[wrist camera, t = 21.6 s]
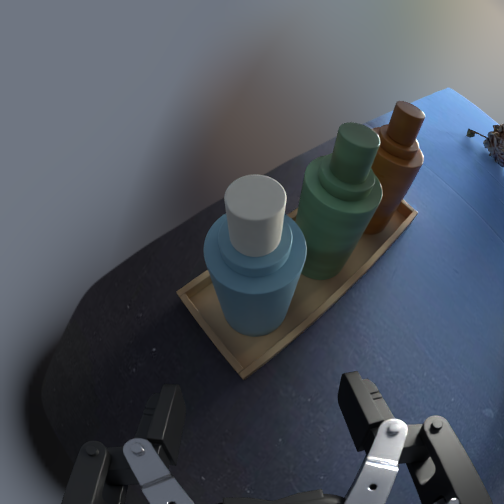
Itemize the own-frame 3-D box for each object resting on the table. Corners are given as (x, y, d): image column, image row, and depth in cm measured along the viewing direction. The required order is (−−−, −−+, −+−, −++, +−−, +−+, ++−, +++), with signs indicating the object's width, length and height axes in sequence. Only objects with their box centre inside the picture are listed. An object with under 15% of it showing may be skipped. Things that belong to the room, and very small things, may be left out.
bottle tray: (243, 380, 20) (226, 359, 8) (181, 299, 24) (114, 192, 12) (411, 222, 28) (468, 129, 16) (356, 176, 32) (389, 77, 19)
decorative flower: (466, 127, 36) (525, 162, 27) (474, 97, 34) (529, 128, 26) (461, 153, 44) (512, 184, 36) (470, 124, 43) (518, 152, 35)
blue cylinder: (229, 342, 22) (195, 267, 10) (217, 282, 24) (185, 164, 12) (294, 328, 22) (342, 238, 10) (278, 270, 25) (297, 147, 13)
